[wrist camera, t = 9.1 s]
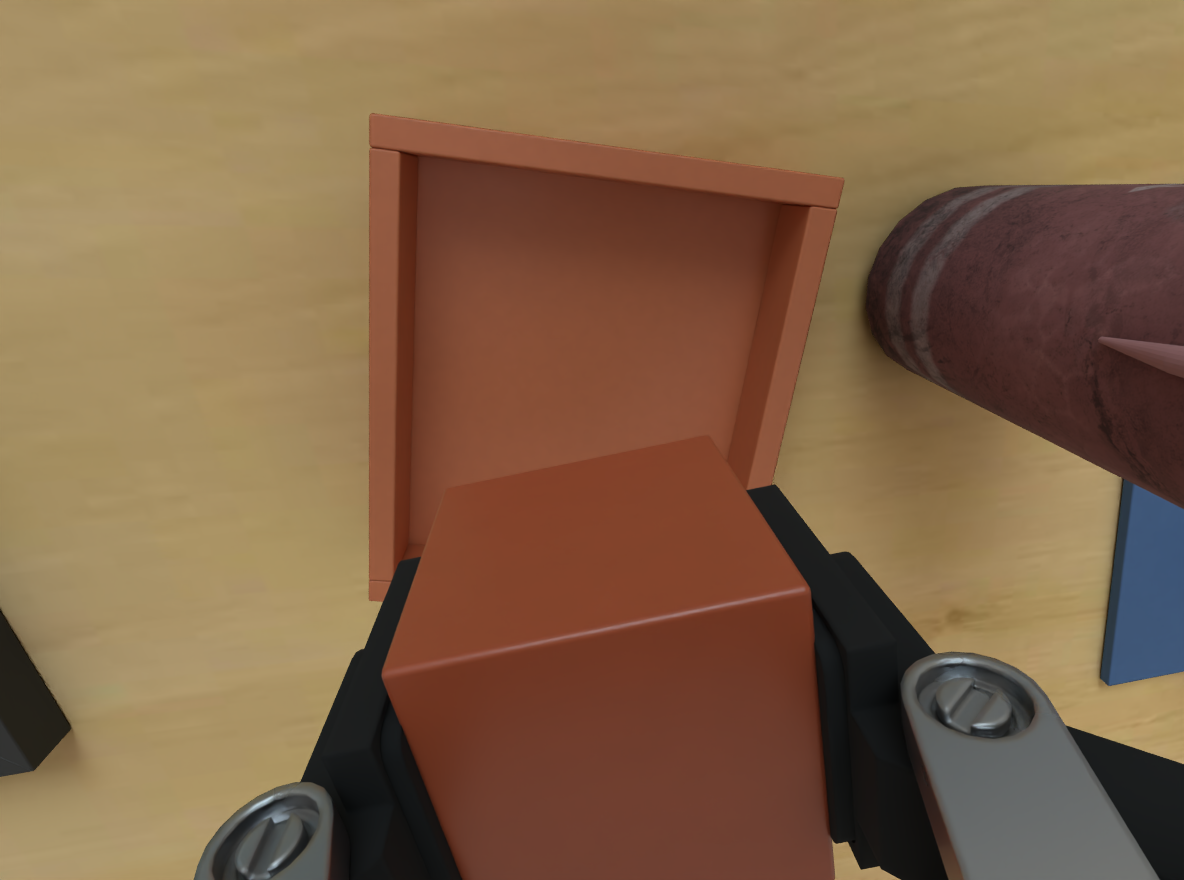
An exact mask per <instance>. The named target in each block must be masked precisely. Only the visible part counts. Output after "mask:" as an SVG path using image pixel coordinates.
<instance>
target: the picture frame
mask: <svg viewBox="0 0 1184 880" xmlns="http://www.w3.org/2000/svg"><path fill="white" fill-rule="evenodd" d="M70 730H71V727H70V726H69V724H68V722H67V721H66V719H65V718H64V716H63V714H62V713H61V711H60V709H59V708H58V706H57V704H56V703H55V701H54V699H53V698H52V696H51V694H50V693H49V691H48V689H47V688H46V686H45V685H44V683H43V681H42V680H41V678H40V676H39V675H38V673H37V671H36V670H35V668H34V666H33V665H32V663H31V661H30V660H29V658H28V656H27V655H26V653H25V652H24V650H23V648H22V647H21V645H20V643H19V642H18V640H17V638H16V637H15V635H14V633H13V632H12V630H11V628H10V627H9V625H8V623H7V622H6V620H5V619H4V617H3V615H2V614H1V612H0V777H2V776H8V775H13V774H19V773H24V772H30V771H34V770H35V769H36V768H37V767H38V766H39V765H40V763H41V762H42V761H43V760H44V759H45V758H46V757H47V756H48V754H49V753H50V752H51V751H52V750H53V749H54V748H55V747H56V745H57V744H58V743H59V742H60V741H61V740H62V739H63V738H64V736H65V735H66V734H67V733H68V732H69V731H70Z"/></svg>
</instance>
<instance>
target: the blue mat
mask: <svg viewBox="0 0 1184 880" xmlns="http://www.w3.org/2000/svg"><path fill="white" fill-rule="evenodd" d="M1183 671H1184V509H1182V508H1180V507H1178V506H1176V505H1174V504H1173V503H1171V502H1169V501H1167V500H1165V499H1163V498H1161V497H1159V496H1157V495H1155V494H1153V493H1151V492H1149V491H1147V490H1145V489H1143V488H1141V487H1139V486H1137V485H1135V484H1133V483H1131V482H1129V481H1127V480H1125V479H1124V482H1123V491H1122V499H1121V508H1120V516H1119V525H1118V533H1117V542H1116V550H1115V558H1114V567H1113V575H1112V584H1111V592H1110V601H1109V609H1108V618H1107V626H1106V634H1105V643H1104V651H1103V660H1102V668H1101V677H1100V678H1101V680H1102V681H1104V682H1105V683H1106V684H1107V685H1108V686H1112V685H1117V684H1122V683H1127V682H1132V681H1137V680H1142V679H1147V678H1153V677H1158V676H1163V675H1168V674H1173V673H1178V672H1183Z"/></svg>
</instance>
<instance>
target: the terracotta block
mask: <svg viewBox="0 0 1184 880" xmlns="http://www.w3.org/2000/svg"><path fill="white" fill-rule="evenodd" d="M814 642H815V633H814V621H813V610H812V598H811V589H810V587H809V586H808V584H807V582H806V581H805V579H804V578H803V576H802V575H801V573H800V572H799V570H798V569H797V567H796V566H795V564H794V563H793V561H792V560H791V558H790V557H789V555H788V554H787V552H786V551H785V549H784V548H783V546H782V545H781V543H780V542H779V540H778V538H777V537H776V535H775V534H774V532H773V531H772V529H771V528H770V526H769V525H768V523H767V522H766V520H765V519H764V517H763V516H762V514H761V513H760V511H759V510H758V508H757V507H756V505H755V504H754V502H753V501H752V499H751V498H750V496H749V495H748V493H747V491H746V490H745V488H744V487H743V485H742V484H741V482H740V481H739V479H738V478H737V476H736V475H735V473H734V472H733V470H732V469H731V467H730V466H729V464H728V463H727V461H726V460H725V458H724V457H723V455H722V454H721V452H720V451H719V449H718V448H717V446H716V444H715V443H714V441H713V440H712V438H711V437H710V436H708V435H704V436H699V437H694V438H689V439H685V440H680V441H675V442H670V443H665V444H660V445H655V446H650V447H646V448H641V449H636V450H631V451H626V452H621V453H616V454H612V455H607V456H602V457H597V458H592V459H587V460H582V461H577V462H573V463H568V464H563V465H558V466H553V467H548V468H543V469H538V470H534V471H529V472H524V473H519V474H514V475H509V476H504V477H499V478H495V479H490V480H485V481H480V482H475V483H470V484H465V485H460V486H456V487H451V488H447V489H446V490H444V493H443V496H442V499H441V502H440V505H439V507H438V510H437V513H436V516H435V519H434V522H433V525H432V528H431V530H430V533H429V536H428V539H427V542H426V545H425V548H424V551H423V554H422V556H421V559H420V562H419V565H418V568H417V571H416V574H415V577H414V580H413V582H412V585H411V588H410V591H409V594H408V597H407V600H406V603H405V606H404V608H403V611H402V614H401V617H400V620H399V623H398V626H397V629H396V632H395V634H394V637H393V640H392V643H391V646H390V649H389V652H388V655H387V658H386V660H385V663H384V666H383V669H382V675H381V676H382V680H383V682H384V685H385V687H386V690H387V692H388V695H389V698H390V700H391V703H392V705H393V708H394V710H395V713H396V715H397V718H398V720H399V723H400V725H401V726H402V728H403V731H404V734H405V736H406V739H407V741H408V744H409V746H410V749H411V751H412V754H413V756H414V759H415V761H416V764H417V766H418V769H419V772H420V774H421V777H422V779H423V782H424V784H425V787H426V789H427V792H428V794H429V797H430V799H431V802H432V805H433V807H434V810H435V812H436V815H437V817H438V820H439V822H440V825H441V827H442V830H443V832H444V835H445V837H446V840H447V843H448V845H449V848H450V850H451V853H452V855H453V858H454V860H455V863H456V865H457V868H458V870H459V873H460V876H461V878H462V880H834V879H835V869H834V857H833V846H832V838H831V835H830V823H829V812H828V800H827V788H826V777H825V765H824V753H823V741H822V730H821V718H820V706H819V695H818V683H817V671H816V660H815V648H814Z"/></svg>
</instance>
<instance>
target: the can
mask: <svg viewBox="0 0 1184 880" xmlns="http://www.w3.org/2000/svg"><path fill="white" fill-rule="evenodd" d="M866 311H867V315H868V319H869V323H870V327H871V331H872V335H873V336H874V337H875V339H876V340H877V342H878V343H879V345H880V346H881V348H882V349H883V351H884V352H885V354H886V355H887V356H888V357H890V358H891V359H893V360H894V361H896V362H897V363H898V364H900V365H901V366H903V367H904V368H906V369H907V370H909V371H911V372H913V373H915V374H917V375H919V376H921V377H923V378H925V379H927V380H929V381H931V382H933V383H935V384H937V385H939V386H941V387H943V388H945V389H947V390H949V391H951V392H953V393H955V394H957V395H959V396H961V397H963V398H965V399H967V400H969V401H971V402H973V403H975V404H976V405H978V406H980V407H982V408H984V409H986V410H988V411H990V412H992V413H994V414H996V415H998V416H1000V417H1002V418H1004V419H1006V420H1008V421H1010V422H1012V423H1014V424H1016V425H1018V426H1020V427H1022V428H1024V429H1026V430H1028V431H1030V432H1032V433H1034V434H1036V435H1038V436H1040V437H1042V438H1044V439H1046V440H1048V441H1050V442H1052V443H1054V444H1056V445H1058V446H1060V447H1062V448H1064V449H1066V450H1068V451H1070V452H1072V453H1074V454H1075V455H1077V456H1079V457H1081V458H1083V459H1085V460H1087V461H1089V462H1091V463H1093V464H1095V465H1097V466H1099V467H1101V468H1103V469H1105V470H1107V471H1109V472H1111V473H1113V474H1115V475H1117V476H1119V477H1121V478H1123V479H1125V480H1127V481H1129V482H1131V483H1133V484H1135V485H1137V486H1139V487H1141V488H1143V489H1145V490H1147V491H1149V492H1151V493H1153V494H1155V495H1157V496H1159V497H1161V498H1163V499H1165V500H1167V501H1169V502H1171V503H1173V504H1174V505H1176V506H1178V507H1180V508H1182V509H1184V184H1110V185H994V186H973V187H960V188H954V189H952V190H949V191H947V192H944V193H942V194H939V195H937V196H935V197H932V198H930V199H927V200H925V201H924V202H923V203H922V204H920V205H919V206H918V207H917V208H915V209H914V210H913V211H911V212H910V213H909V214H908V215H906V216H905V217H904V218H903V219H901V220H900V221H899V222H898V224H897V225H896V226H895V228H894V229H893V231H892V232H891V233H890V235H889V236H888V237H887V239H886V240H885V241H884V243H883V244H882V245H881V247H880V248H879V251H878V254H877V256H876V259H875V261H874V264H873V267H872V269H871V272H870V274H869V277H868V286H867V298H866Z"/></svg>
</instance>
